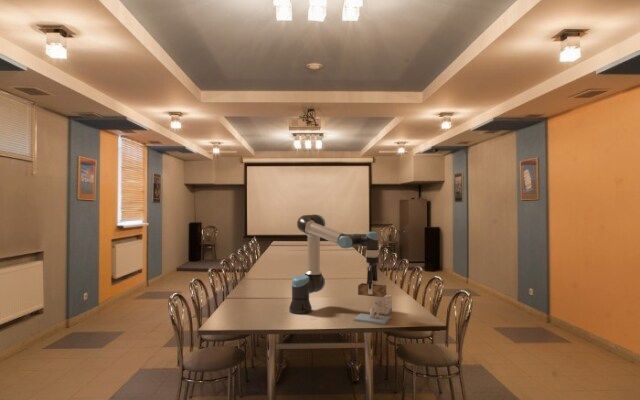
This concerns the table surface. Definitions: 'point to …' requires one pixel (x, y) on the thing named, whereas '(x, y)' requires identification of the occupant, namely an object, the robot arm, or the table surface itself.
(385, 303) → the ink box
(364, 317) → the post board
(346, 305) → the table surface
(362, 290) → the hollow block
